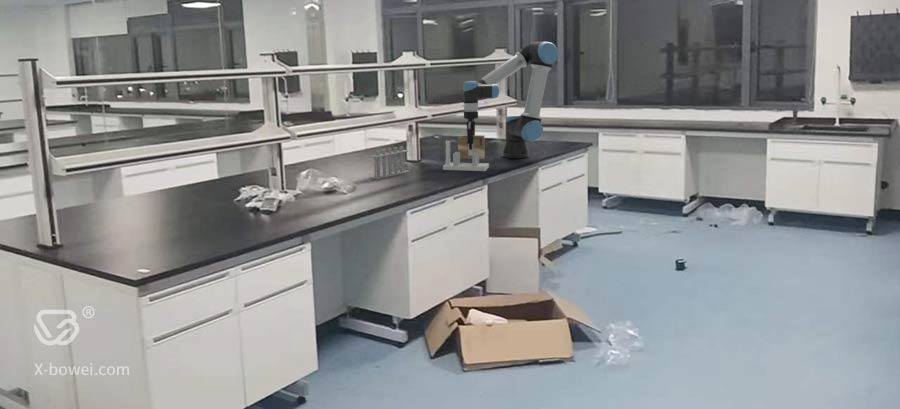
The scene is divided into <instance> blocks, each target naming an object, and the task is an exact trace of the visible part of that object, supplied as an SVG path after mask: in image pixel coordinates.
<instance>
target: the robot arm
mask: <svg viewBox="0 0 900 409" xmlns="http://www.w3.org/2000/svg"><path fill="white" fill-rule="evenodd" d="M558 57H559V50H558V48H557V47H556V44H554V43H552V42H551V41H550V42H549V41H545V40H544V41H531V42H530V43H528V44H526V45H525V46H523V47H522V48H520V49H519V50H517V51H516V52H514V55H513V56H512V57H510V58H509V59H508V60H506V61H505V62H503V63H502V64H500V65H499V66H498V67H496V68H495V69H494V70H492V71H491V72H489V73H488V74H485V76H484V77H482V78H480V79H479V80H471V81H470V80H469V81H464V82H463V87H462V88H463V90H462V92H463V104H462V107H463V111H464V112H463V119H464V120H467V122H466V132H467V133H466V135H467V140H468V141H467V144H468V156H472V154H474V151H473V135H476V122H475V120H476V119H478V118H479V111H478V110H479V100H486V99H487V100H488V99H489V100H490V99H497V98H498V97H499V95H500V87H499V85H498V84H500V83H501V82H503V81H504V80H505V79H507V78H508V77H510V76H512V75H513V74H515V73H516V72H518V71H519V70H521V69H522V68H526V67H528V66H529V65H530V67H531V68H532V70H531V75H530V80H529V84H528V89H527V90H528V91H527V95H526V101H525V105H524V109H523V112H522V113H521V114H520V115H512V116H511V115H510V116H509V115H508V116H506V118H505V142H504V146H503V149H502V153H501V154H502V155H501V157H503V158H507V159H523V158H524V159H525V158H530V157H529V156H530V152H529V148H528V146H527V142H536V141H537V140H539V139H540V138H541V136H542V135H543V133H544V126H543V125H542V124H543V123H542V117H541V115H540V113H541V109H542V104H543V98H544V95H545V89H546V84H547V80H548V74H549V71H551V70H552V68H553V64H554V63H555V62H556V61H557V60H558Z"/></svg>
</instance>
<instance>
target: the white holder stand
mask: <svg viewBox="0 0 900 409" xmlns="http://www.w3.org/2000/svg"><path fill="white" fill-rule="evenodd" d="M489 168H490V163H481V162H480V158H479V153H478V152H474V154H472V158H471V162H461V158H460V152H458V151H454V153H453V154H452V162H451V140H446V141H445V163H444V165H442V170H443V171H463V172H464V171H470V172H472V171H473V172H486V171H487V170H488V169H489Z"/></svg>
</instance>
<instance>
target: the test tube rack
mask: <svg viewBox="0 0 900 409" xmlns="http://www.w3.org/2000/svg"><path fill="white" fill-rule="evenodd" d="M375 151H376V153H375V154H373V155H369V157H370V158H373V160H374V161H373V162H374V165H373V166H374V175H373V176H369V178H370V179H372V180H380V179H385V178H389V177H394V176H398V175H402V174H406V173H407V174H408V173H410V170H408V169H407V170H406V153H407V152H410V150H409V149H404V146H399V149H398V147H396V146H395V147H393V150H392V147H391V148H388V149H387V151H386V149H381V153H380V150H375ZM398 154H399V170H398ZM392 155H393V156H392ZM392 157H393V158H392ZM381 158H382V160H381ZM392 159H393V160H392ZM387 161H388V162H387ZM381 162H382V174H381ZM392 162H393V163H392ZM387 163H388V165H387ZM387 166H388V170H387ZM393 170H394V171H393ZM387 171H388V172H387Z"/></svg>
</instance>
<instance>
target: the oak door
mask: <svg viewBox="0 0 900 409" xmlns="http://www.w3.org/2000/svg"><path fill="white" fill-rule="evenodd" d="M485 137H486V136H485V135H483V134H482V135H481V134H480V135H478V134H477V135H476V134H475V135H473V151H474V152H478V153H479V159H481V160H482V159H485V157H486V151H485V149H486V148H485V145H486V144H485ZM467 141H468V140H467V134H464V135H463V134H459V135H457V152H460V159H472V156H468V144H467Z"/></svg>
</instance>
